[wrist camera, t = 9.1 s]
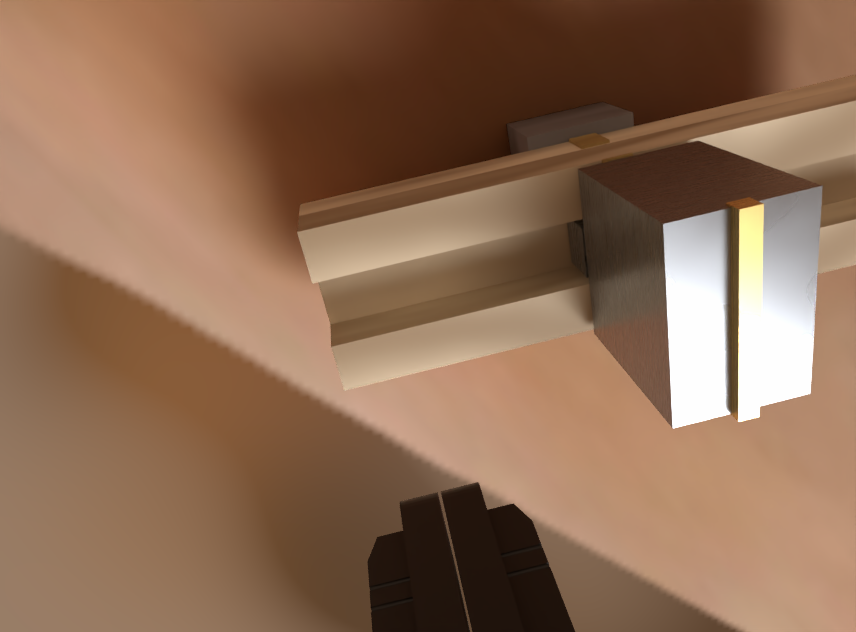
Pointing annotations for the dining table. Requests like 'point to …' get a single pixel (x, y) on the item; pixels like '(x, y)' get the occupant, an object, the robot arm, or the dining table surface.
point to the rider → (702, 277)
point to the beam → (535, 228)
